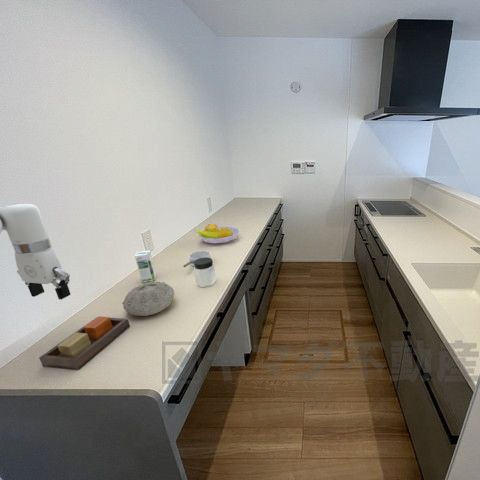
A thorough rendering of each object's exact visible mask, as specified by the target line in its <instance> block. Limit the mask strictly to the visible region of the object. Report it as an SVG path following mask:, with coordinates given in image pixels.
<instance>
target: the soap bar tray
mask: <svg viewBox="0 0 480 480" xmlns="http://www.w3.org/2000/svg"><path fill="white" fill-rule="evenodd" d="M130 327H131V325H130V322H129V319H128V318H120V317H110V316H100V315H99V316H97V317H95V318H94V319H92V320H91V321H90V322H88V323H86V324H85V325H83V326H82V327H81V328H79V329H78V330H76V331H75V332H74V333H72V334H71V335H69V336H68V337H66V338H65V339H63V340H62V341H61V342H59V343H58V344H56V345H55V346H53V347H52V348H51V349H49V350H48V351H46V352H45V353H43V354H42V355H40V356H39V357H38V359H39V361H40V363H41V366H42V367H44V368H54V369H62V370H63V369H64V370H72V371H73V370H74V371H79V370H81V369H82V368H83V367H84V366H86V364H88V363H89V362H90V361H91V360H92V359H94V358H95V357H96V356H97V355H99V353H101V352H102V351H103V350H105V348H106V347H108V346H110V344H111V343H113V342H114V341H115V340H116V339H118V337H120V336H121V335H122V334H123V333H124V332H125V331H127V330H128V329H129V328H130Z"/></svg>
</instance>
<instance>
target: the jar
mask: <svg viewBox="0 0 480 480" xmlns="http://www.w3.org/2000/svg"><path fill="white" fill-rule="evenodd" d="M193 274H194V279H195V284H196V286H198V287H200V288H207V287H212V286H213V285H214V284H215V283H216V282H217V277H216V269H215V264H214V262H213V258H211V257H210V258H208V257H204V258H199V259H197V260H195V261H194V266H193Z"/></svg>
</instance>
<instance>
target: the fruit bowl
mask: <svg viewBox="0 0 480 480" xmlns="http://www.w3.org/2000/svg"><path fill="white" fill-rule="evenodd" d="M194 231H195V233H196V234H198V237H199V238H200V239H201V240H202V241H203V242H205V243H208V244H226V243H228V242H231V241H233V240H235V239H236V238H237V237H238V235H239V234H240V230H239V228H237V227H233V226H218V225H217V224H215V223H207V225H206V226H204V230H197V229H195V228H194Z"/></svg>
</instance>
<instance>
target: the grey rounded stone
mask: <svg viewBox="0 0 480 480" xmlns="http://www.w3.org/2000/svg"><path fill="white" fill-rule="evenodd" d="M174 296H175V291H174V289H173V287H172V286H171V285H169V284H168V283H166V282H165V281H150V282H145V283H143V284H141V285H138V286H135V287H134V288H132V289H131V290H130V291H128V293H127V294H126V295H125V297H124V300H123V301H122V308H123V309H124V311H125V312H127V313H128V314H130V315H132V316H137V317H148V316H151V315H155V314H158V313H160V312H162V311H163V310H165V309H166V308H168V307H169V306H170V304H171V303H172V301H173V298H174Z"/></svg>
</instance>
